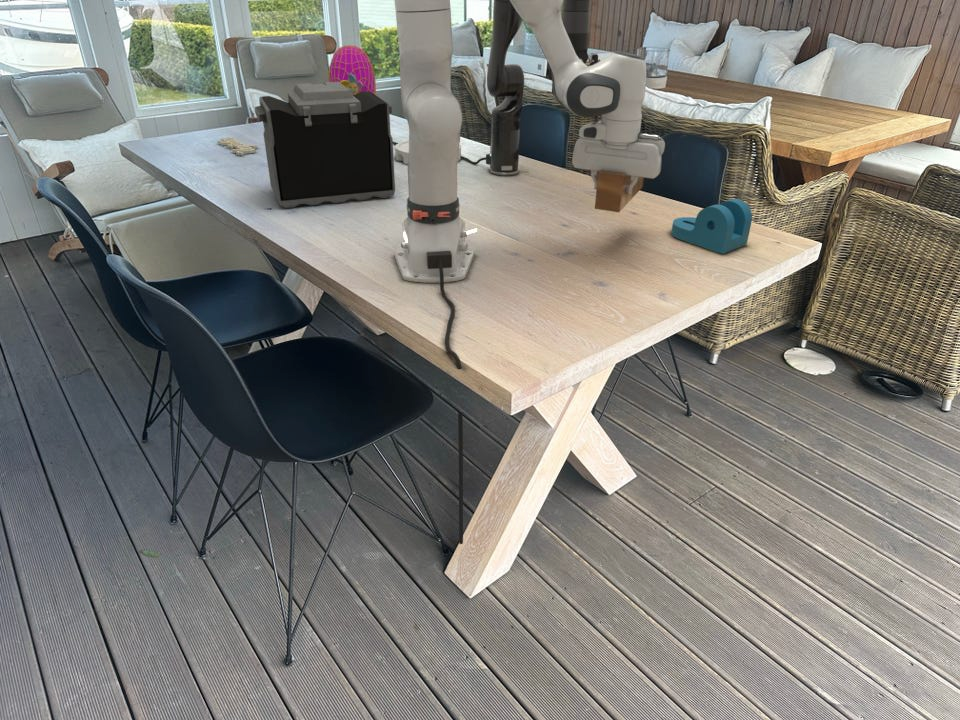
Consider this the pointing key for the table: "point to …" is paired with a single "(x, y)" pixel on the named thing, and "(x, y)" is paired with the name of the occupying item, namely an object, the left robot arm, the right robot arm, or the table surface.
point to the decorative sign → (237, 146)
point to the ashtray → (403, 151)
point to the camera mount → (716, 226)
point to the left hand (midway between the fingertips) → (612, 191)
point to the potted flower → (352, 84)
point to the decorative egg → (352, 67)
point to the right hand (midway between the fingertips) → (570, 95)
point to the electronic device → (327, 145)
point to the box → (614, 190)
